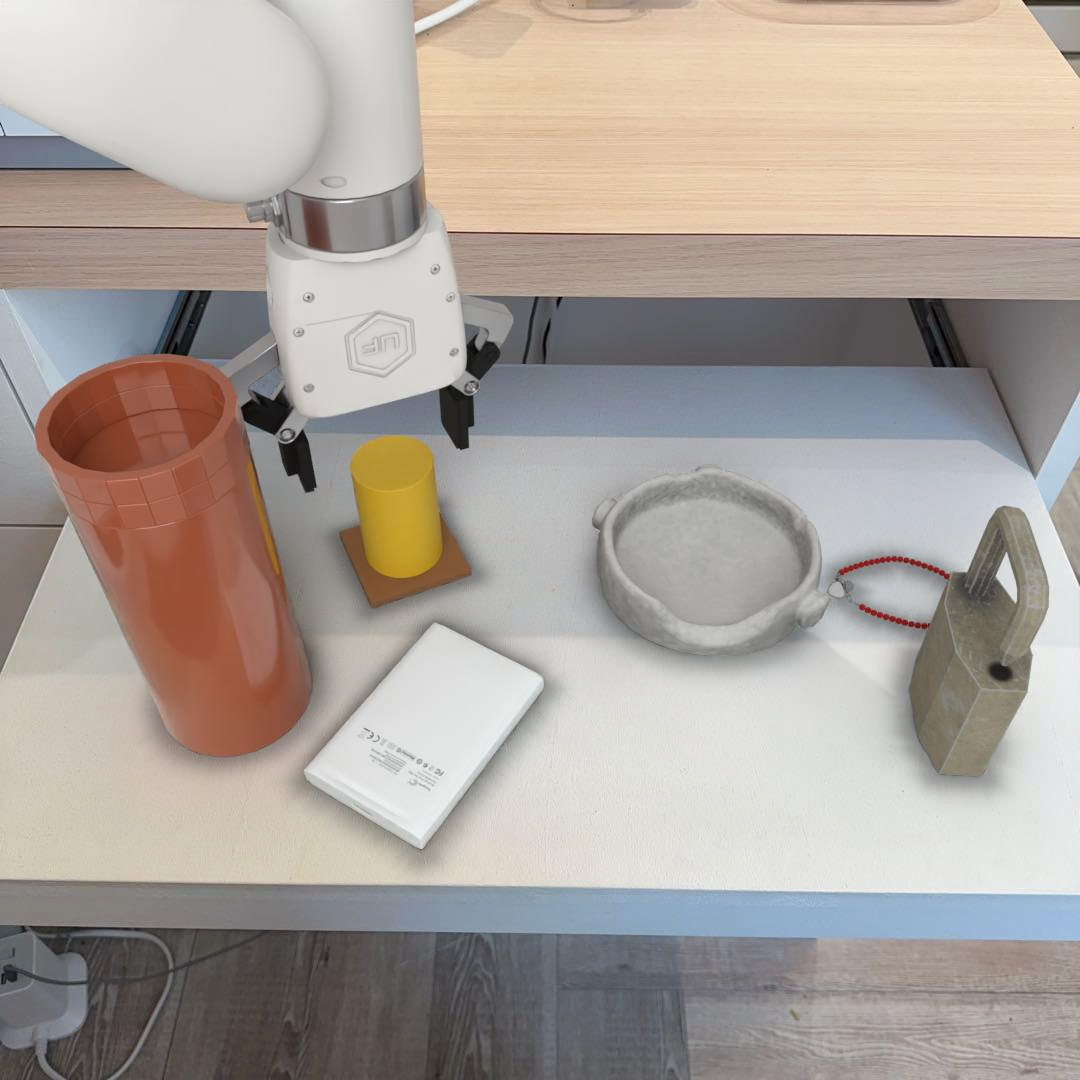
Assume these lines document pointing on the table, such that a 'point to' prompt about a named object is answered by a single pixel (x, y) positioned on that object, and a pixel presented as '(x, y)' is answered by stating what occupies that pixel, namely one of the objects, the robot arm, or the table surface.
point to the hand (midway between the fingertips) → (381, 456)
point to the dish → (709, 562)
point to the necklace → (844, 586)
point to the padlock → (980, 649)
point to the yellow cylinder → (397, 505)
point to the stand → (181, 545)
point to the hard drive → (425, 733)
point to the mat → (391, 589)
